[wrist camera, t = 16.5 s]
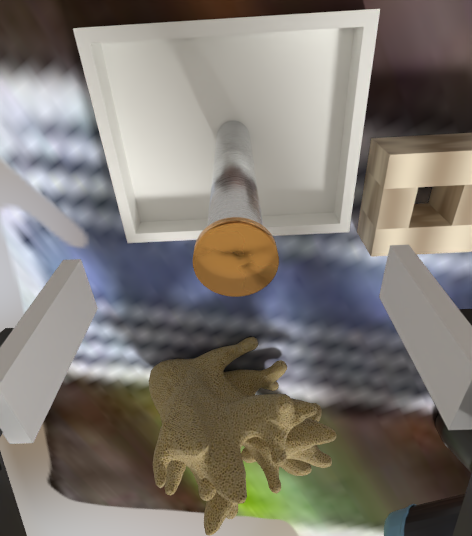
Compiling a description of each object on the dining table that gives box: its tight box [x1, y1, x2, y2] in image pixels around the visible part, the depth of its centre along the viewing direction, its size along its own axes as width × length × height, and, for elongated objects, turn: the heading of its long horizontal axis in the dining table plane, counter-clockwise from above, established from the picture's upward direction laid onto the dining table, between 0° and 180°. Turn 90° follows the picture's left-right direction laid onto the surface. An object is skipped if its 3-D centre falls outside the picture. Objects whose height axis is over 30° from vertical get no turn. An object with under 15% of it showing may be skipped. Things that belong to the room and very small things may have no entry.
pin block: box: [357, 133, 472, 256], centre depth 35 cm, size 10×10×5 cm
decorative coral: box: [149, 337, 336, 535], centre depth 46 cm, size 26×22×25 cm
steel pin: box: [193, 120, 279, 297], centre depth 25 cm, size 4×4×20 cm
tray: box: [73, 9, 380, 243], centre depth 33 cm, size 22×18×4 cm
